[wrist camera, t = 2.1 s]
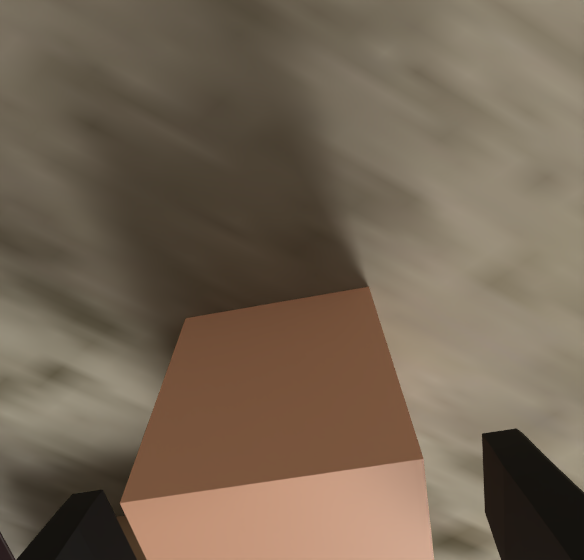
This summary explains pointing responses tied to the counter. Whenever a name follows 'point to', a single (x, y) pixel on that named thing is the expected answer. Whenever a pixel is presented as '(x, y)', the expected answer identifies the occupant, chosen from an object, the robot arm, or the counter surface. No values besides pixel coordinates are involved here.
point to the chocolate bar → (5, 550)
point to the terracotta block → (281, 441)
